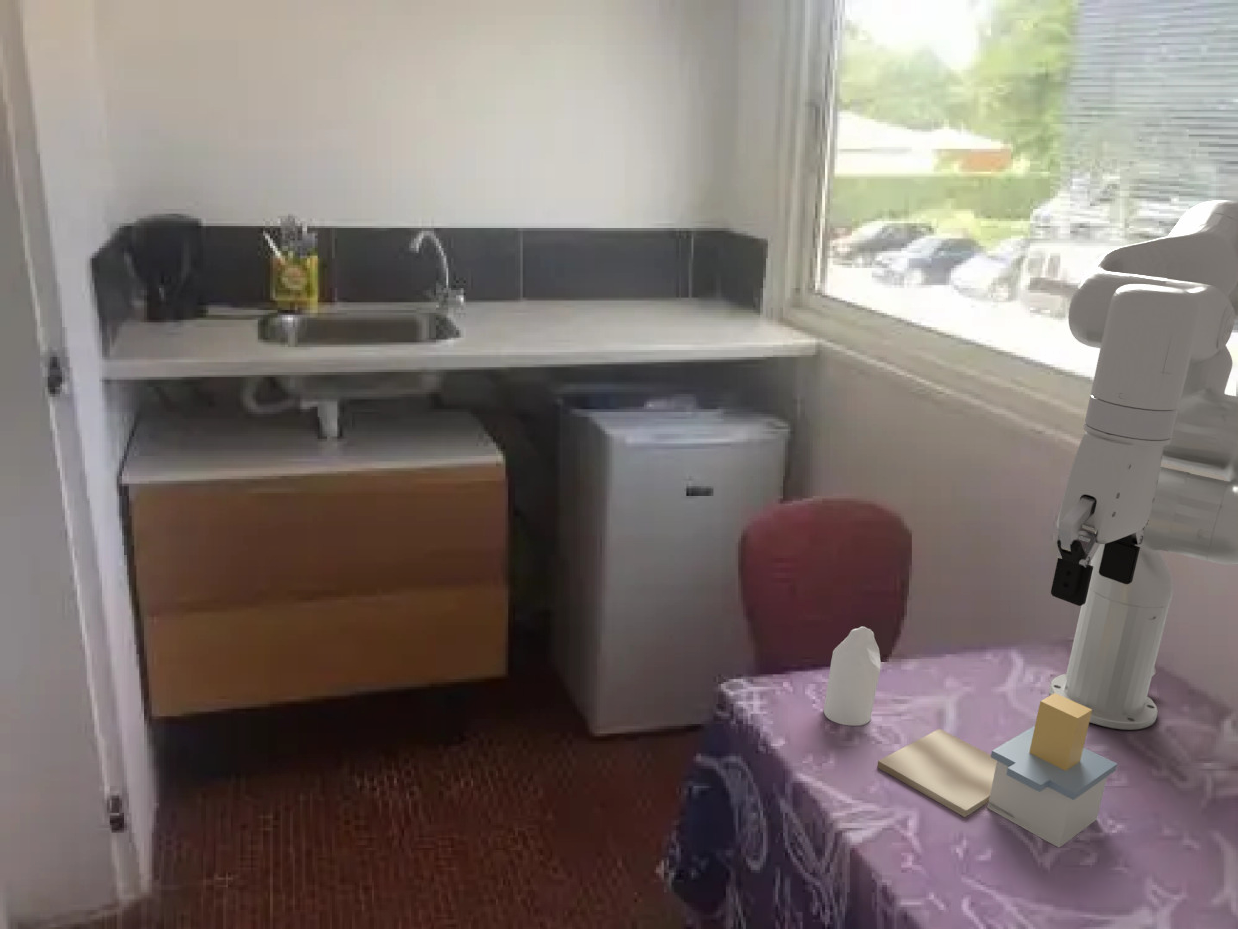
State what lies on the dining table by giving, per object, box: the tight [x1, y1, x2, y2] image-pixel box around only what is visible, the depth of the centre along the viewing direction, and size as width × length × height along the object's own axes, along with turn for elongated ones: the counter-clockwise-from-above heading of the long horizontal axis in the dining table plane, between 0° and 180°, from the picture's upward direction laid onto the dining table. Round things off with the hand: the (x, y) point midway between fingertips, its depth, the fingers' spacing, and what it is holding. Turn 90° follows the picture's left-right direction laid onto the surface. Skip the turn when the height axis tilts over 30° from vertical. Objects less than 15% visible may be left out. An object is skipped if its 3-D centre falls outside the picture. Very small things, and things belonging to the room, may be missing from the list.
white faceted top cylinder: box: [823, 626, 882, 727], centre depth 128 cm, size 6×12×6 cm
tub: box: [986, 761, 1108, 848], centre depth 112 cm, size 8×8×6 cm
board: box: [876, 728, 997, 818], centre depth 119 cm, size 12×11×1 cm
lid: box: [990, 693, 1118, 800], centre depth 110 cm, size 11×9×7 cm
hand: (1091, 589), depth 105 cm, fingers open, 9 cm apart
